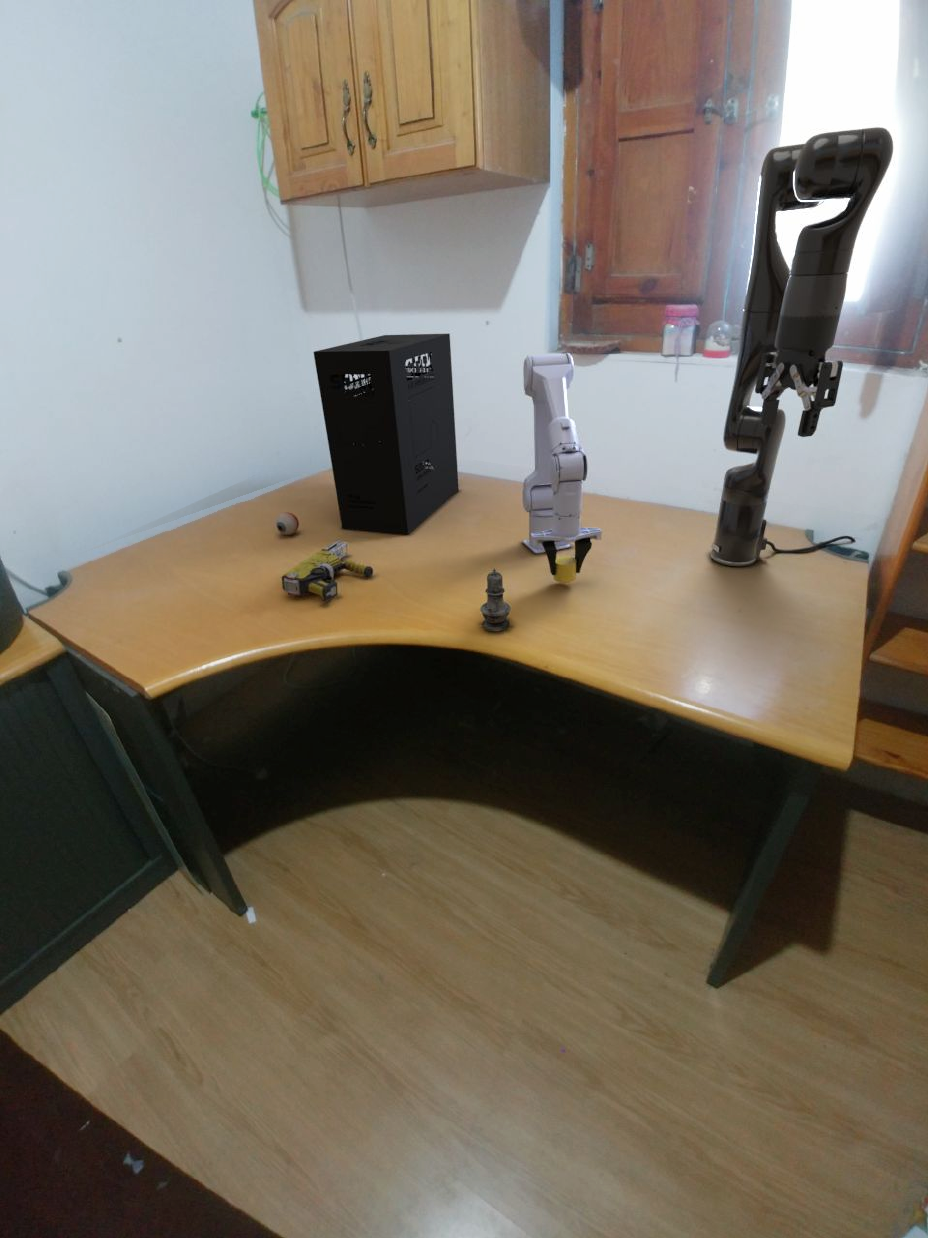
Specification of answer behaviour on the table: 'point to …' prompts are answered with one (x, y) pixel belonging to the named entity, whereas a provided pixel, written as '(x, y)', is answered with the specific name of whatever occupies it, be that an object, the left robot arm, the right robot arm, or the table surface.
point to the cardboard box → (390, 429)
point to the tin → (565, 569)
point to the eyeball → (287, 523)
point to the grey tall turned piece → (495, 604)
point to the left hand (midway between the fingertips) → (564, 572)
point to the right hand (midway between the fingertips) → (785, 429)
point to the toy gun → (321, 572)
